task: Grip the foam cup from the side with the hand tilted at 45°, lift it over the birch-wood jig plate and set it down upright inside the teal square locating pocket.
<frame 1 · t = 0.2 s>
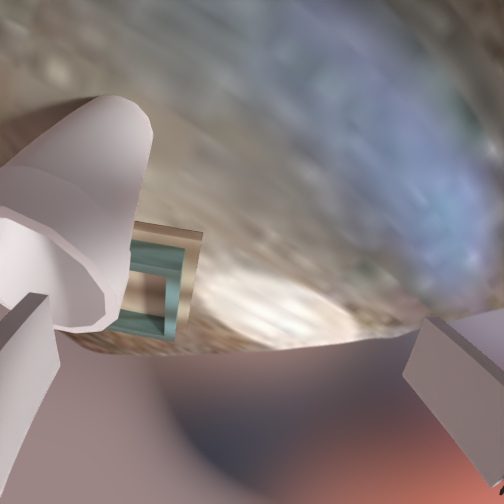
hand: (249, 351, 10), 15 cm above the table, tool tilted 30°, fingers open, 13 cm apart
foam cup: (113, 132, 21), on the table
jig plate: (117, 273, 33), on the table
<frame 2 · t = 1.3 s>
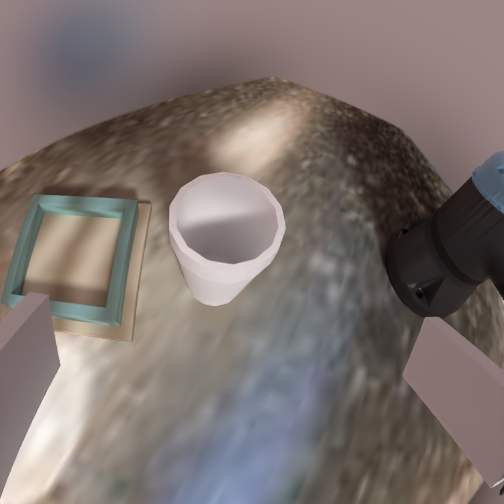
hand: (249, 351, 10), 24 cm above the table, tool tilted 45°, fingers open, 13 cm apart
foam cup: (213, 280, 37), on the table
jig plate: (75, 263, 34), on the table
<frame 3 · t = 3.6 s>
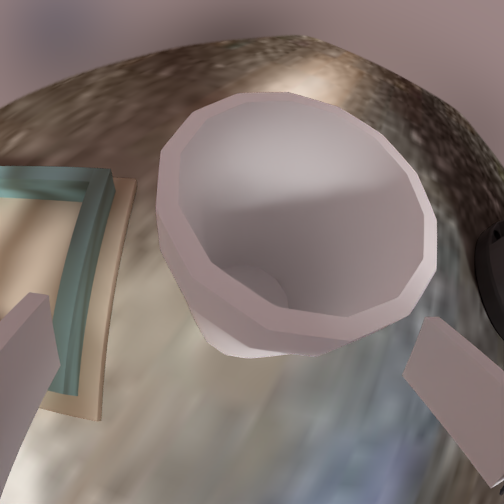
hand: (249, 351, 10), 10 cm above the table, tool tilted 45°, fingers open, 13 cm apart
foam cup: (242, 311, 21), on the table
jig plate: (11, 275, 18), on the table
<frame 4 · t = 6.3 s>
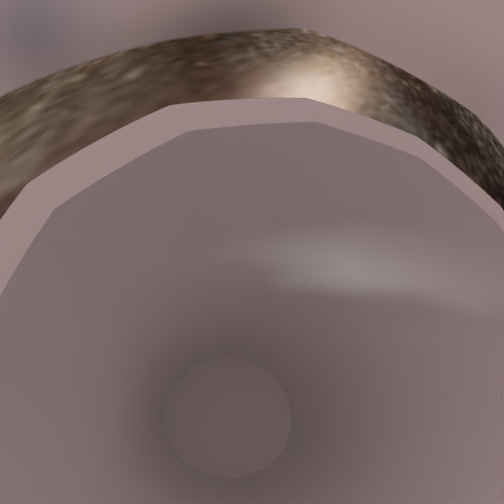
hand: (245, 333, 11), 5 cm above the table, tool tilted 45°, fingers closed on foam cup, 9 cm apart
foam cup: (226, 418, 14), on the table, touching gripper
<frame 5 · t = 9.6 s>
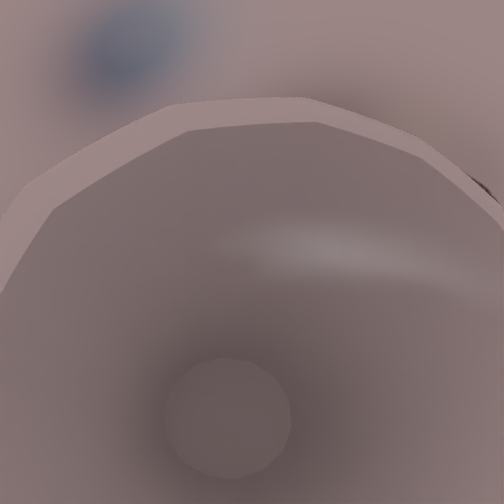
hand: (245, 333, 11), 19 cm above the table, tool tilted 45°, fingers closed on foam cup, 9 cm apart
foam cup: (226, 418, 14), point 14 cm above the table, touching gripper
when the fingers open (7 cm above the table, at t = 13.2 s): foam cup drops 1 cm, resting on jig plate.
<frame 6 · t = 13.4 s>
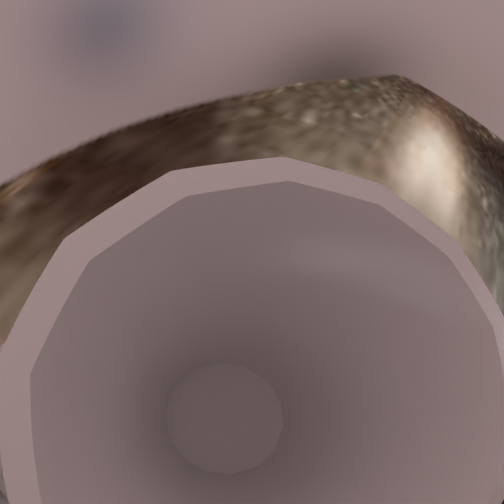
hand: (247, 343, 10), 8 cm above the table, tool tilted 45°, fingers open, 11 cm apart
foam cup: (223, 419, 15), point 1 cm above the table, touching jig plate
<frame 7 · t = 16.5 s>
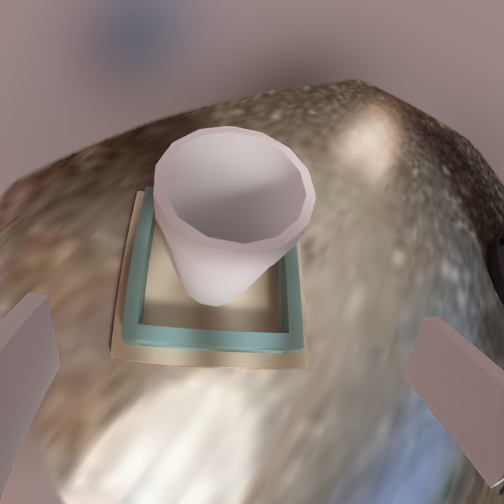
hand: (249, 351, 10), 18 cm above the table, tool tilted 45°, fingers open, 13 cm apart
foam cup: (213, 274, 29), point 1 cm above the table, touching jig plate
jig plate: (212, 276, 30), on the table
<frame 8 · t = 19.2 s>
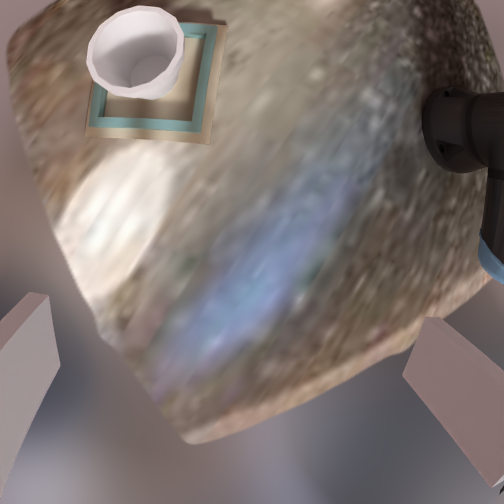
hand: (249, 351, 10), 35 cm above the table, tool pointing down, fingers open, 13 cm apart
foam cup: (153, 77, 36), point 1 cm above the table, touching jig plate
jig plate: (154, 78, 37), on the table
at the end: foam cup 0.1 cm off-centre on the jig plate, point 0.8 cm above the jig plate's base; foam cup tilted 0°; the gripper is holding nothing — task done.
